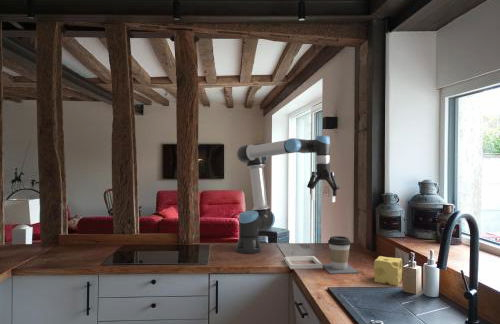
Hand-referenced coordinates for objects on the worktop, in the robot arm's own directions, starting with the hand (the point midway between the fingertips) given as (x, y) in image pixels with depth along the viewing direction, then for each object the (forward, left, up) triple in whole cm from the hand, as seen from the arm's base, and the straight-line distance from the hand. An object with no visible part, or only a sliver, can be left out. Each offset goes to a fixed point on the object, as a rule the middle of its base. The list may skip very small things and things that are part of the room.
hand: (322, 201), depth 208 cm
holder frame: (+12, -14, -32) cm, 37 cm away
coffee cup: (+22, +2, -31) cm, 38 cm away
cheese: (+42, +18, -32) cm, 56 cm away
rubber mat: (+22, +2, -32) cm, 39 cm away
